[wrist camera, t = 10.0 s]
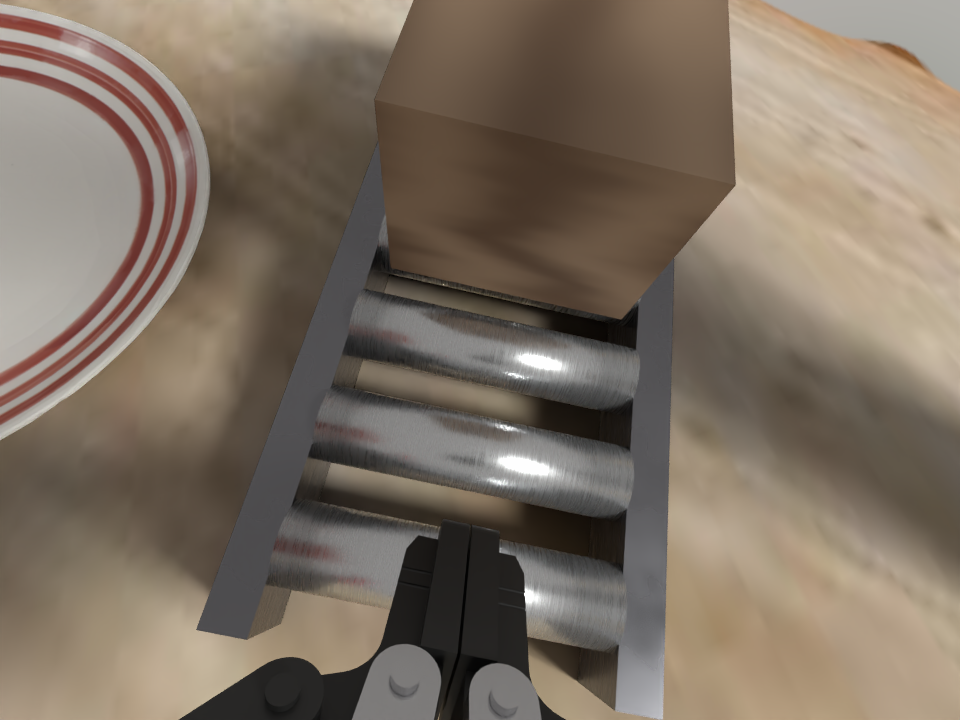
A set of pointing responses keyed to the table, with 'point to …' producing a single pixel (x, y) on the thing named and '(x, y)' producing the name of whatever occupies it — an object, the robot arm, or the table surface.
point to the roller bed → (467, 462)
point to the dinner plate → (86, 204)
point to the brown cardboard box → (555, 143)
